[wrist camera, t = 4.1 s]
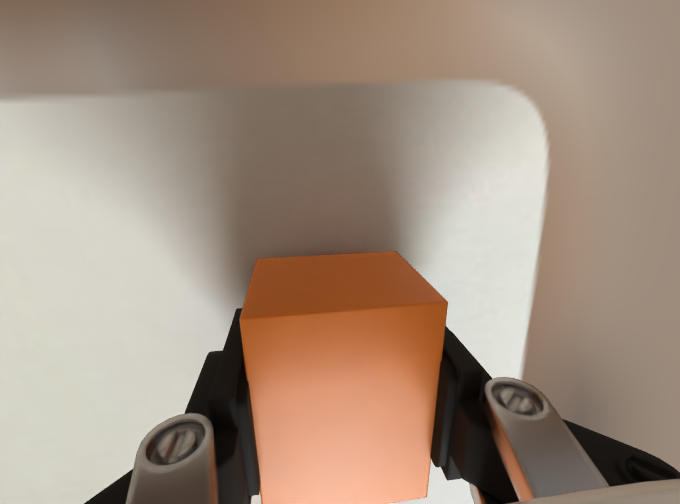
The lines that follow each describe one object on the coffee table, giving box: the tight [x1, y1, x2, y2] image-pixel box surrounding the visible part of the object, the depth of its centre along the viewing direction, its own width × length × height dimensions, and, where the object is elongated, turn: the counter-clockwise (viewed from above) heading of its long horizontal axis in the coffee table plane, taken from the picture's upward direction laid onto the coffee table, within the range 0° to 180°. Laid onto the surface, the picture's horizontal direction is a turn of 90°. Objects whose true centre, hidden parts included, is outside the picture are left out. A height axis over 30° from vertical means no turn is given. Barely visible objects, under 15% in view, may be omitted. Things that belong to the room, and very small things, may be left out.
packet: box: [239, 251, 448, 504], centre depth 9 cm, size 4×6×4 cm
